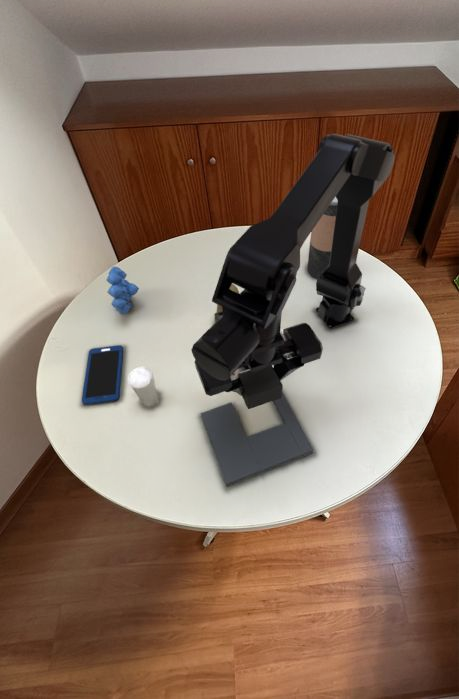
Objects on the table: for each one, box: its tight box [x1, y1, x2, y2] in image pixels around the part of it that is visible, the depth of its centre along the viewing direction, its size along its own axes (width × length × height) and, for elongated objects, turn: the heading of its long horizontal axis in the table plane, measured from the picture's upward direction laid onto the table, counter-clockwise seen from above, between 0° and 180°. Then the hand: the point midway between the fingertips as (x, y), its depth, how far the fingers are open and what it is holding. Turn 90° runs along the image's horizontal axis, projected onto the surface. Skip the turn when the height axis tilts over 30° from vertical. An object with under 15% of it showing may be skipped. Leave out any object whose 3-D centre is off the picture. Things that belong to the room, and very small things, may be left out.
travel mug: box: [306, 197, 338, 280], centre depth 85 cm, size 8×8×20 cm
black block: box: [239, 365, 284, 410], centre depth 61 cm, size 6×6×4 cm
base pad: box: [200, 391, 314, 488], centre depth 66 cm, size 16×14×2 cm
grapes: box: [106, 266, 140, 316], centre depth 84 cm, size 12×7×12 cm, turn 8°
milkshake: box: [127, 366, 160, 408], centre depth 68 cm, size 4×5×10 cm
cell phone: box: [81, 344, 124, 405], centre depth 77 cm, size 7×14×1 cm, turn 7°
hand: (258, 387), depth 62 cm, fingers closed on black block, 6 cm apart
